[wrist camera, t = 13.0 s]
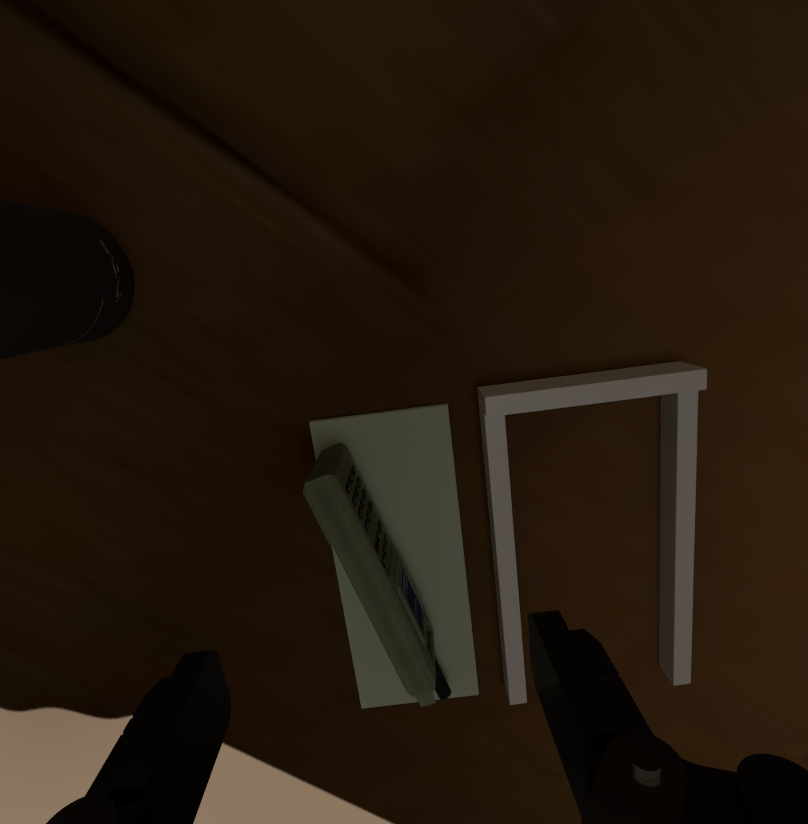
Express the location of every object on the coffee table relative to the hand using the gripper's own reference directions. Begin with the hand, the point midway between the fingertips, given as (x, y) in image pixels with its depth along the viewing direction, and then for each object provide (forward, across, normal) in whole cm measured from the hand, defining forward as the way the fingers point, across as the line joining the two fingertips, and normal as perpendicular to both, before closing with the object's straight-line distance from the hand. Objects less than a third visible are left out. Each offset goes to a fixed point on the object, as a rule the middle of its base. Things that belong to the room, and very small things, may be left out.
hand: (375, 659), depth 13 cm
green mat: (+28, +1, +15) cm, 32 cm away
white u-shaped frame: (+28, -15, +15) cm, 35 cm away
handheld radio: (+28, +2, +15) cm, 31 cm away
